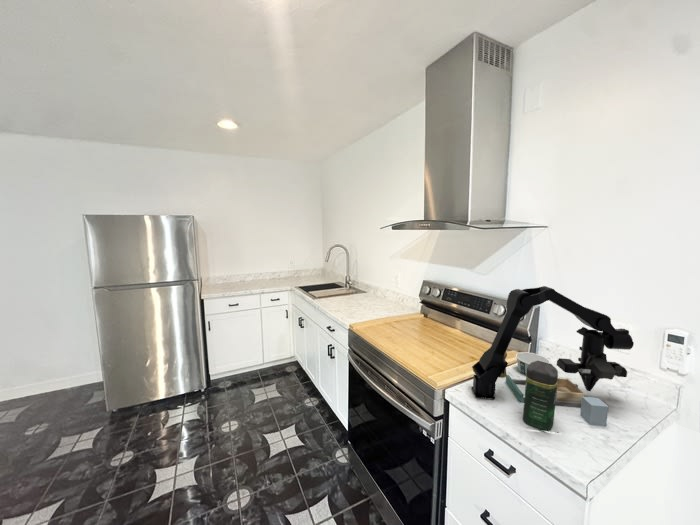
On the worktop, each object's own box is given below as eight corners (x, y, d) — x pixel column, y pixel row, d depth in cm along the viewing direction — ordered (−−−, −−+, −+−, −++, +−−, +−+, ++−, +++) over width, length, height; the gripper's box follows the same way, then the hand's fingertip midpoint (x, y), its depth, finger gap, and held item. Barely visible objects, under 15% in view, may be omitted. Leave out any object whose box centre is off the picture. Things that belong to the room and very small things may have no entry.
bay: (516, 406, 98) (516, 396, 97) (499, 381, 113) (500, 372, 113) (603, 414, 93) (604, 403, 93) (573, 387, 109) (574, 378, 109)
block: (589, 426, 88) (591, 405, 87) (579, 417, 92) (582, 396, 91) (605, 428, 87) (608, 406, 86) (595, 418, 91) (598, 397, 91)
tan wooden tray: (550, 402, 99) (551, 391, 98) (536, 386, 108) (537, 376, 108) (584, 405, 97) (585, 394, 96) (566, 388, 107) (567, 378, 106)
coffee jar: (551, 436, 84) (557, 375, 81) (520, 424, 89) (524, 367, 86) (555, 419, 91) (560, 363, 89) (525, 409, 96) (530, 356, 94)
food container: (530, 364, 127) (531, 350, 126) (556, 378, 116) (557, 363, 115) (507, 368, 124) (508, 353, 123) (532, 382, 112) (533, 367, 112)
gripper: (576, 355, 93) (572, 401, 95) (643, 360, 90) (637, 407, 92) (557, 342, 104) (553, 383, 105) (617, 345, 101) (612, 388, 102)
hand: (588, 390), depth 101 cm, fingers closed
